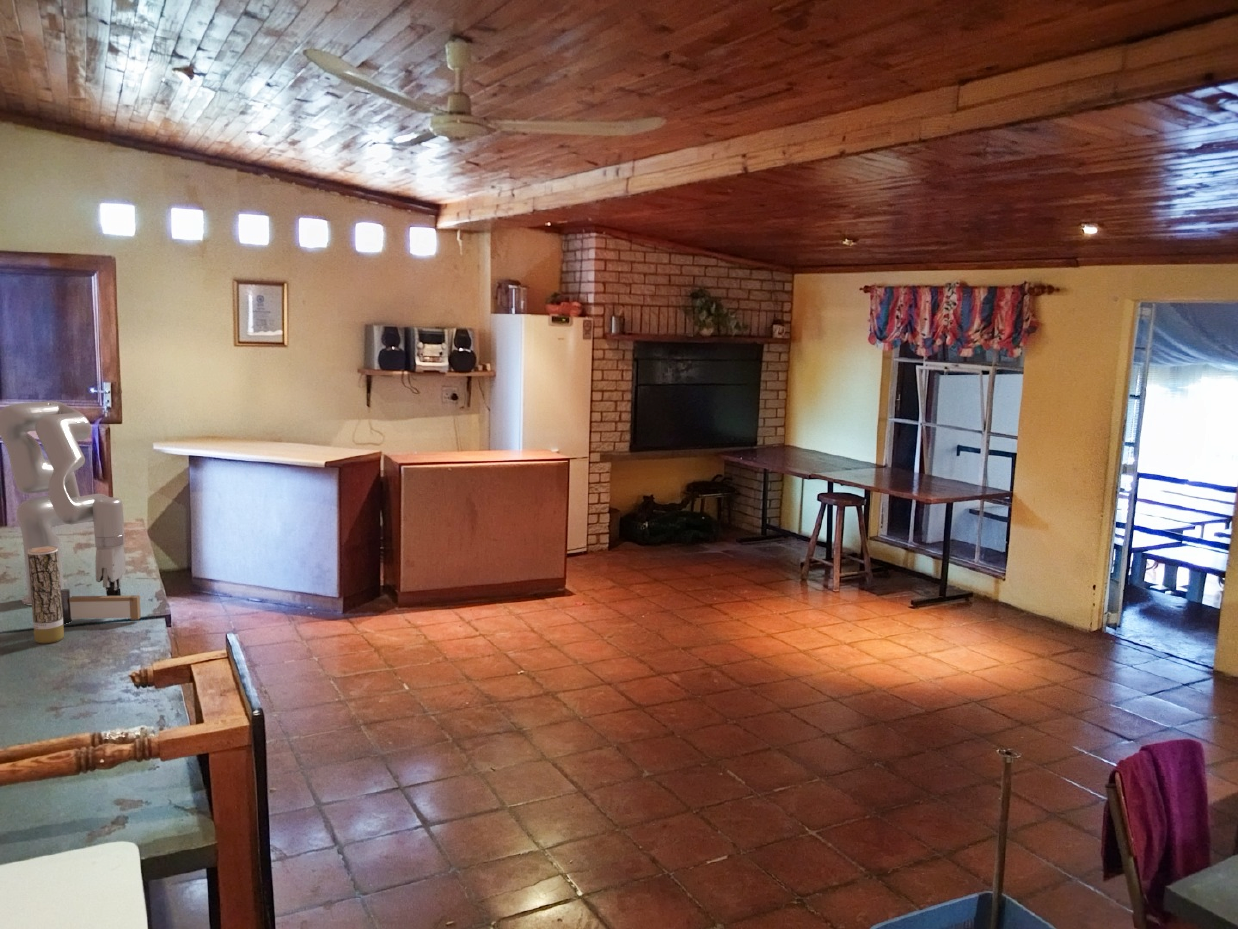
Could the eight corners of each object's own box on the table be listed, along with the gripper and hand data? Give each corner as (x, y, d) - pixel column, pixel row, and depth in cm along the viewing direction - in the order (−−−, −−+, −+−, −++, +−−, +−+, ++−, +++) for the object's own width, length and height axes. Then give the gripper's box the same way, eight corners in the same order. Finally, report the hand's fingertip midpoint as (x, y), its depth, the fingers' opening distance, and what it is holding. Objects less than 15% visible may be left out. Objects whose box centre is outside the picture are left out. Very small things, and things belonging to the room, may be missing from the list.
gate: (74, 618, 264) (72, 596, 263) (140, 617, 266) (139, 595, 265) (70, 620, 262) (69, 598, 261) (138, 619, 264) (136, 597, 263)
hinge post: (62, 621, 264) (60, 589, 262) (73, 621, 264) (71, 589, 263) (57, 624, 261) (55, 592, 260) (69, 624, 261) (66, 592, 260)
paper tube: (54, 644, 246) (47, 553, 242) (29, 644, 246) (21, 552, 242) (69, 636, 253) (63, 546, 249) (45, 635, 253) (38, 546, 249)
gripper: (106, 534, 273) (110, 595, 276) (84, 547, 258) (89, 611, 261) (133, 534, 274) (137, 594, 277) (113, 547, 259) (117, 610, 262)
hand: (114, 602), depth 269 cm, fingers closed
